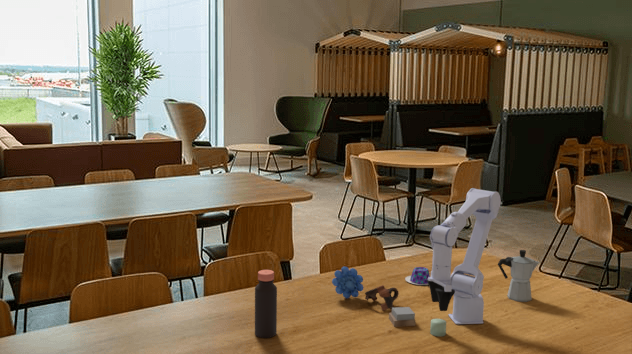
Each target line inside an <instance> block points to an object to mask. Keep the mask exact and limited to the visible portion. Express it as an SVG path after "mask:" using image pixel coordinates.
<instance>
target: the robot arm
mask: <svg viewBox="0 0 632 354" xmlns="http://www.w3.org/2000/svg"><path fill="white" fill-rule="evenodd" d="M501 203H502V201H501V195H500V193H499V191H491V190H485V189H479V188H475V187H472V188H470V189H469V190H468V191H467V193H466V196H465V202H463V204H462V205H461V207H460V208H459V209H458V211H453V212H451V213H450V214H449V216H448V217H446V218H445V220H444V221H443V222H442V223H441V224H440V225H439V224H438V225H435V226H433V228H431V231H430V234H429V240H430V243H431V245H430V246H431V249H432V267H431V271H430V277H428V279H427V282H428V284H429V285H428V288H429V292H430V296H431V297H430V298H431V301H432V303H438V309H439V312H447V311H448V309H449V305H450V302H451V299H452V298H453V304H452V313H448V317H449V318H450V319H451V320H452V322H453V323H454V324H456V325H474V324H476V325H477V324H478V325H479V324H480V325H481V324H484V310H485V307H484V306H485V305H484V304H485V303H484V302H485V301H484V297H483V295H482V294H481V293H482V290H483V287H484V277H485V276H484V273H482V270H480V268H479V266H480V262H481V259H482V256H483V252H484V249H485V246H486V243H487V241H488V240H487V239H488V235H489V233H490V229H491V227H492V222H493V220H495V219H497V216H498V213H499V211H500V206H501ZM472 215H473V216H474V217H475V222H474V227H473V229H472V232H471V236H470V239H469V243H468V245H467V249H466V253H465V256H464V259H463V262H462V263H460V264H458V265H456V266H455V267H453V271H451V269H452V256H453V255H452V254H453V252H452V251H453V246H454V245H456V242H457V239H458V237H459V234H460V232H462V230H463V229H464V227H466V225H467V220H468V218H470V217H471V216H472Z"/></svg>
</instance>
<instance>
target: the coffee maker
mask: <svg viewBox="0 0 632 354" xmlns="http://www.w3.org/2000/svg"><path fill="white" fill-rule="evenodd" d="M526 254H527V250H525V249H519V256H507V257H505V258H500V259H499V261H498V262H497V266H498V267H499V269H500V271H501V273H502V275H503V277H504V279H505V280H506V279H508V277H509V276H508V275H507V273H506V271H505V270H504V268H503V266H502V265H505V266H507V267H509V268H510V277H511V279H510V283H509V288H508V291H507V295H506V297H507V298H508V300H512V301H515V302H517V303H518V302H519V303H520V302H521V303H527V302H530V301H532V300H533V299H532V298H533V297H532V288H531V287H532V286H531V281H530V279H531V278H532V276H533V272H534V270H535V269H536V267H537V266H538V265H539V264H540V263H541V262H540V261H537V260H534V259H532V258H531V257H529V256H528V257H527V256H526Z"/></svg>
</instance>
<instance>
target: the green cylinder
mask: <svg viewBox="0 0 632 354" xmlns="http://www.w3.org/2000/svg"><path fill="white" fill-rule="evenodd" d="M446 331H447V321H446V320H445V319H443V318H432V319H431V320H430V331H429V333H430V335H431V336H434V337H439V338H440V337H445V336H446V333H447V332H446Z"/></svg>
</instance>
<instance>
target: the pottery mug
mask: <svg viewBox="0 0 632 354" xmlns="http://www.w3.org/2000/svg"><path fill="white" fill-rule="evenodd" d="M392 293H393V296H392ZM377 294H378V295H379V297H381V298H383V300H384V303H381V304H380V307H381V310H382V311H383V312H384V311H387V310H390V309H392V308H394V301H395V300H397V299H398V297H399V294H400V293H399V290H398V289H397V288H396V287H390V288H385V285H380V286H378V287H375V288H373V289H369V290H367V291H365V293H364V295H365V297H364V298H365V300H366V301H369V300H371V301H372V302H376V301H377V300H378V297H377Z"/></svg>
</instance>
